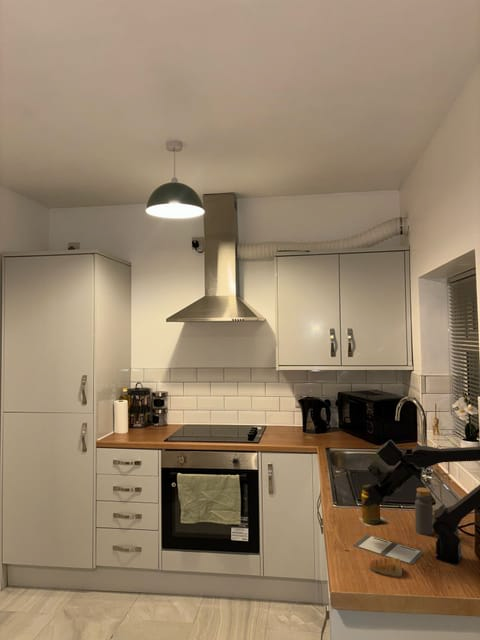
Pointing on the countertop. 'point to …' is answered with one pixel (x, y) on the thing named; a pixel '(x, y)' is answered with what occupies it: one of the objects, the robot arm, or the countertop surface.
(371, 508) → the condiment
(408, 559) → the mat
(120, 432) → the countertop surface
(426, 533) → the bottle
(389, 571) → the pastry
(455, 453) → the robot arm
